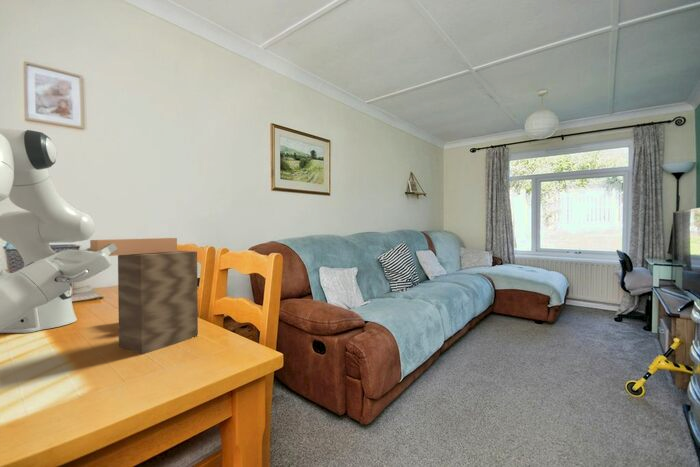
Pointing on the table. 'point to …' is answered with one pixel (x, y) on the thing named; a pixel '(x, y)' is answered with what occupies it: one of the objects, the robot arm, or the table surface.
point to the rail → (136, 245)
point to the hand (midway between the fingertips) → (109, 245)
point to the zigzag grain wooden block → (157, 299)
